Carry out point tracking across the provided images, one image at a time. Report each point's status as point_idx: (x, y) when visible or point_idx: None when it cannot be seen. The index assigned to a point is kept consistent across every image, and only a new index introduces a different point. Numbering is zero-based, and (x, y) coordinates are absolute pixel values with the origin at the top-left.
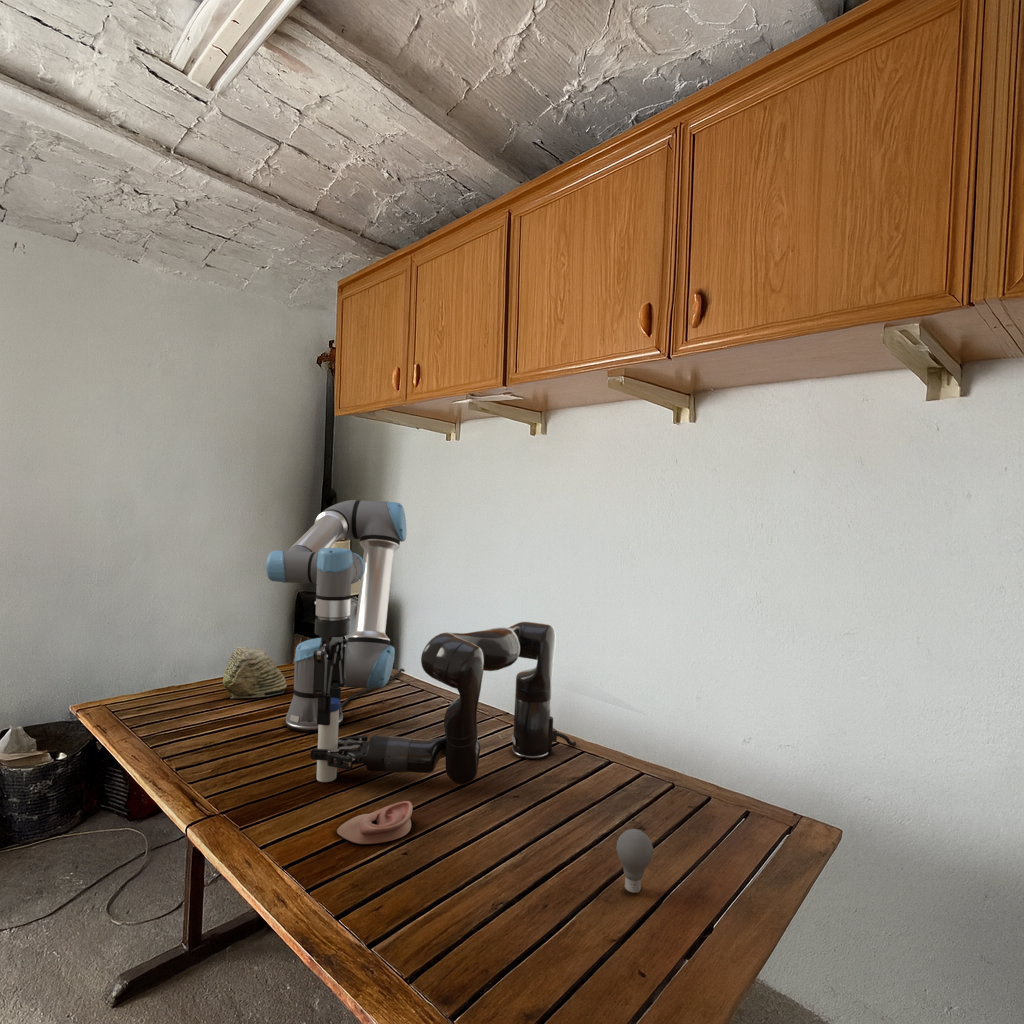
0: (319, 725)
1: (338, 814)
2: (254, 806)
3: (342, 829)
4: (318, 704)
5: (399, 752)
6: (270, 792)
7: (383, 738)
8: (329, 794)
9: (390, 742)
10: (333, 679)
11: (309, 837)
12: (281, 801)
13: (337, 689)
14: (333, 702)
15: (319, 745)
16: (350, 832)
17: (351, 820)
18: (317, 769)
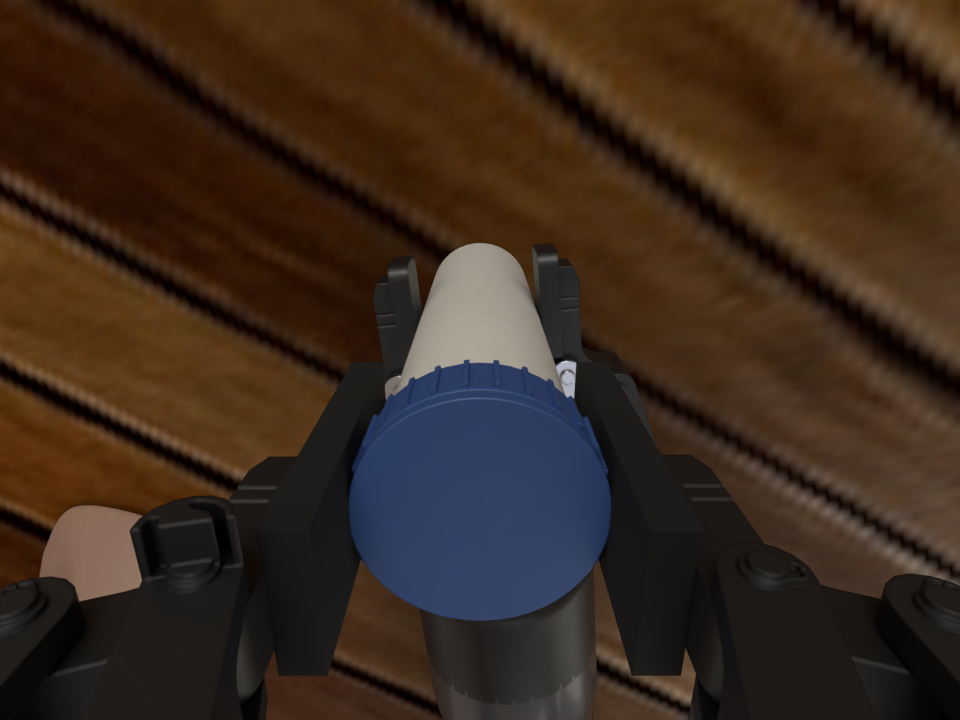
0: (414, 350)
1: (197, 461)
2: (108, 88)
3: (63, 535)
4: (302, 461)
5: (444, 718)
6: (260, 88)
7: (493, 680)
8: (333, 367)
9: (471, 708)
10: (720, 711)
11: (10, 431)
12: (201, 193)
13: (630, 642)
14: (437, 576)
15: (424, 312)
16: (55, 566)
17: (113, 551)
18: (444, 266)
